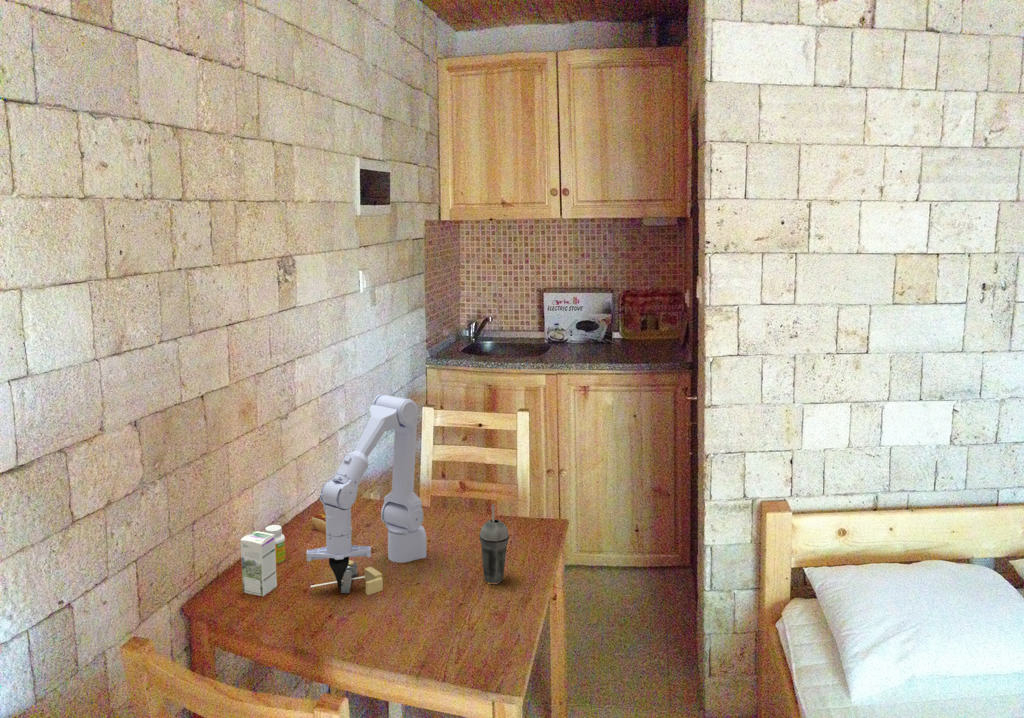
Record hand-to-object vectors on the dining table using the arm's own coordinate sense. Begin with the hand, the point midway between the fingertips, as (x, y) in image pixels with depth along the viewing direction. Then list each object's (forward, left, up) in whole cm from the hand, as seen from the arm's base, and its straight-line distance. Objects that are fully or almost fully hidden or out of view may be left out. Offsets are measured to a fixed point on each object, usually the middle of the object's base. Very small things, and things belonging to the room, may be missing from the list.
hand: (339, 586), depth 194 cm
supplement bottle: (+11, -23, -2) cm, 25 cm away
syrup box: (+17, -8, -2) cm, 19 cm away
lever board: (-2, -2, -2) cm, 4 cm away
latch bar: (-3, -3, -1) cm, 4 cm away
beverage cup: (-36, +7, -2) cm, 37 cm away
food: (-7, -35, -2) cm, 36 cm away
